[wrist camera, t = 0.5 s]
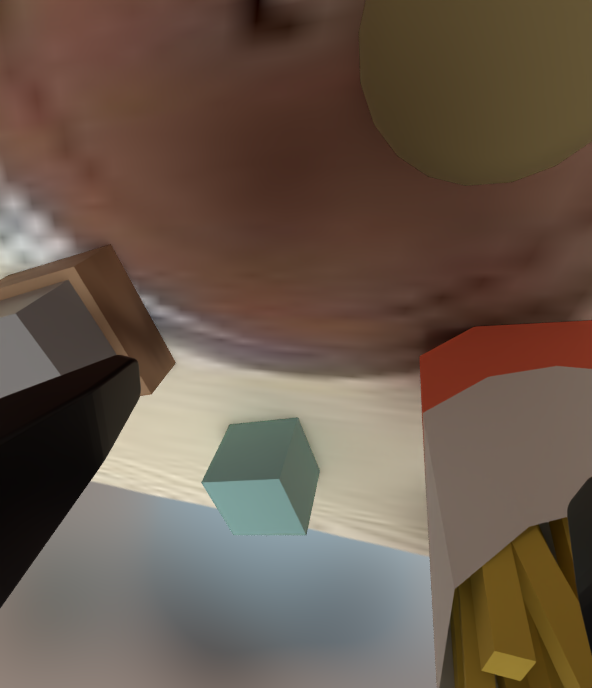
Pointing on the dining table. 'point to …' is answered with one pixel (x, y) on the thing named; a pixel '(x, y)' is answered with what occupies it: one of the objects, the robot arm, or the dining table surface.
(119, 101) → the dining table surface
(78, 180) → the dining table surface
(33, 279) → the walnut slab
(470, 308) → the dining table surface
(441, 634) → the french fries container
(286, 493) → the teal cube
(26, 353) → the charcoal block
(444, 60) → the cork
